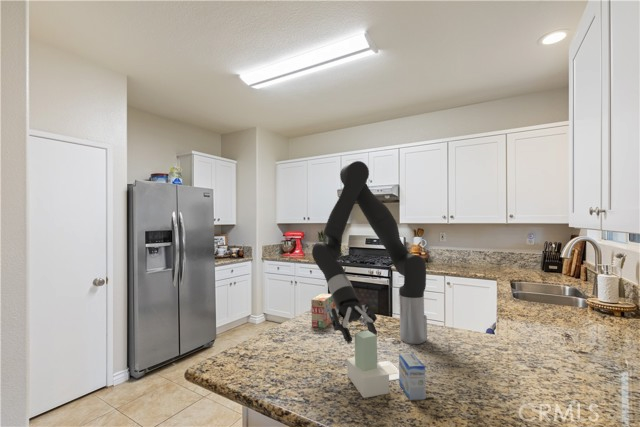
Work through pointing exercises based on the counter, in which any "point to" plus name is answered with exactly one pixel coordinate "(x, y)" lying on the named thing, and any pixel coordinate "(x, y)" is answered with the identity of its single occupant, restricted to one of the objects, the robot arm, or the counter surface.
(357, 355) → the sage brick
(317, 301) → the printed cardboard box
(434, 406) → the counter surface
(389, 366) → the page
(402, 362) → the medicine box
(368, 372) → the base brick
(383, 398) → the counter surface
